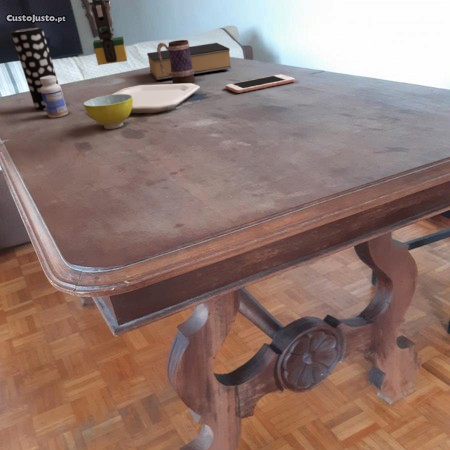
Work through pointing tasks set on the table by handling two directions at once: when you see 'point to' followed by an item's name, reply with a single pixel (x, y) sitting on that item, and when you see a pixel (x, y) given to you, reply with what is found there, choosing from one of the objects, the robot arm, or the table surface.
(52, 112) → the pill bottle
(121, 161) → the table surface
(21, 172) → the table surface
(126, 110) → the bowl
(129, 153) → the table surface
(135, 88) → the plate
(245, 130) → the table surface
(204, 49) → the book
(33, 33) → the white-spotted black cylinder
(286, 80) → the cell phone
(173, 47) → the mug
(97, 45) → the sponge
